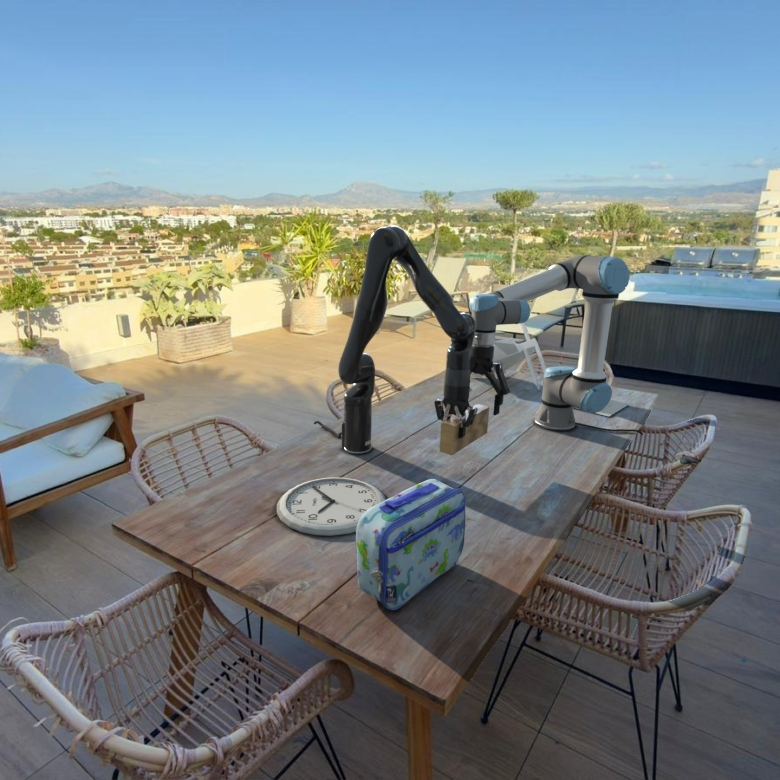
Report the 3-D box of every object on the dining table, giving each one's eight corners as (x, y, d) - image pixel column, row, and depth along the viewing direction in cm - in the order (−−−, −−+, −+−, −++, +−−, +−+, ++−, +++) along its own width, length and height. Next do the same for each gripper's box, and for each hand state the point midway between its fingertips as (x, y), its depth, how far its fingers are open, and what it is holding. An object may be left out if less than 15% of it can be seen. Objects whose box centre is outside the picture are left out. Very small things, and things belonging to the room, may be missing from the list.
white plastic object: (486, 418, 266) (465, 396, 241) (467, 346, 288) (447, 318, 263) (557, 395, 254) (543, 368, 229) (531, 321, 276) (517, 290, 251)
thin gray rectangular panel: (608, 416, 214) (573, 407, 224) (608, 416, 214) (573, 408, 224) (628, 404, 229) (594, 396, 238) (628, 405, 229) (594, 397, 238)
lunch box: (385, 624, 100) (387, 528, 94) (349, 596, 108) (348, 506, 101) (468, 566, 118) (474, 482, 112) (432, 545, 125) (436, 466, 119)
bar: (475, 429, 175) (477, 404, 172) (487, 432, 173) (489, 406, 170) (439, 451, 158) (440, 423, 155) (452, 455, 155) (453, 426, 152)
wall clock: (392, 527, 129) (268, 531, 127) (391, 533, 130) (269, 537, 127) (383, 473, 158) (282, 475, 155) (383, 478, 158) (282, 480, 156)
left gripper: (429, 380, 154) (427, 433, 159) (472, 389, 146) (468, 445, 151) (442, 374, 160) (440, 426, 165) (484, 383, 152) (480, 438, 157)
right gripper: (441, 340, 166) (437, 404, 172) (514, 353, 152) (507, 421, 158) (453, 337, 172) (449, 398, 178) (525, 348, 158) (518, 415, 164)
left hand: (453, 435), depth 158 cm, fingers closed on bar, 4 cm apart
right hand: (476, 409), depth 168 cm, fingers open, 13 cm apart
